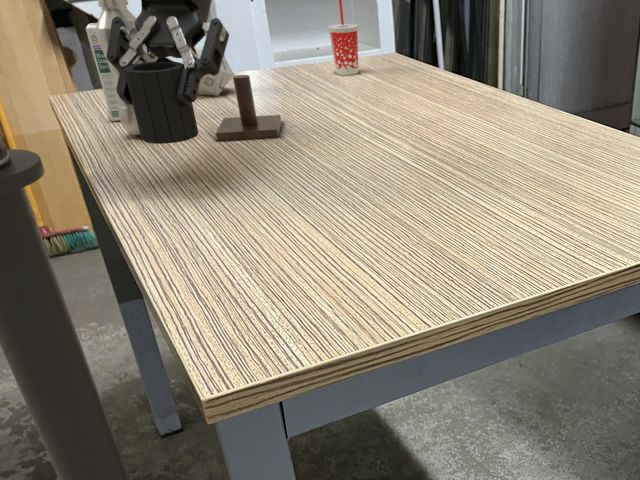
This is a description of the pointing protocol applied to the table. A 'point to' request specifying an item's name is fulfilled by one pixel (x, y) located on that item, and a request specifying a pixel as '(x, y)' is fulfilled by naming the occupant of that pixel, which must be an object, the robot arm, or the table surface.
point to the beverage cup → (344, 46)
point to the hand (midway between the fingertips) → (154, 101)
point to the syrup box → (103, 73)
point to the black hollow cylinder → (160, 102)
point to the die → (214, 78)
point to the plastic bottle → (112, 7)
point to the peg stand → (247, 117)
